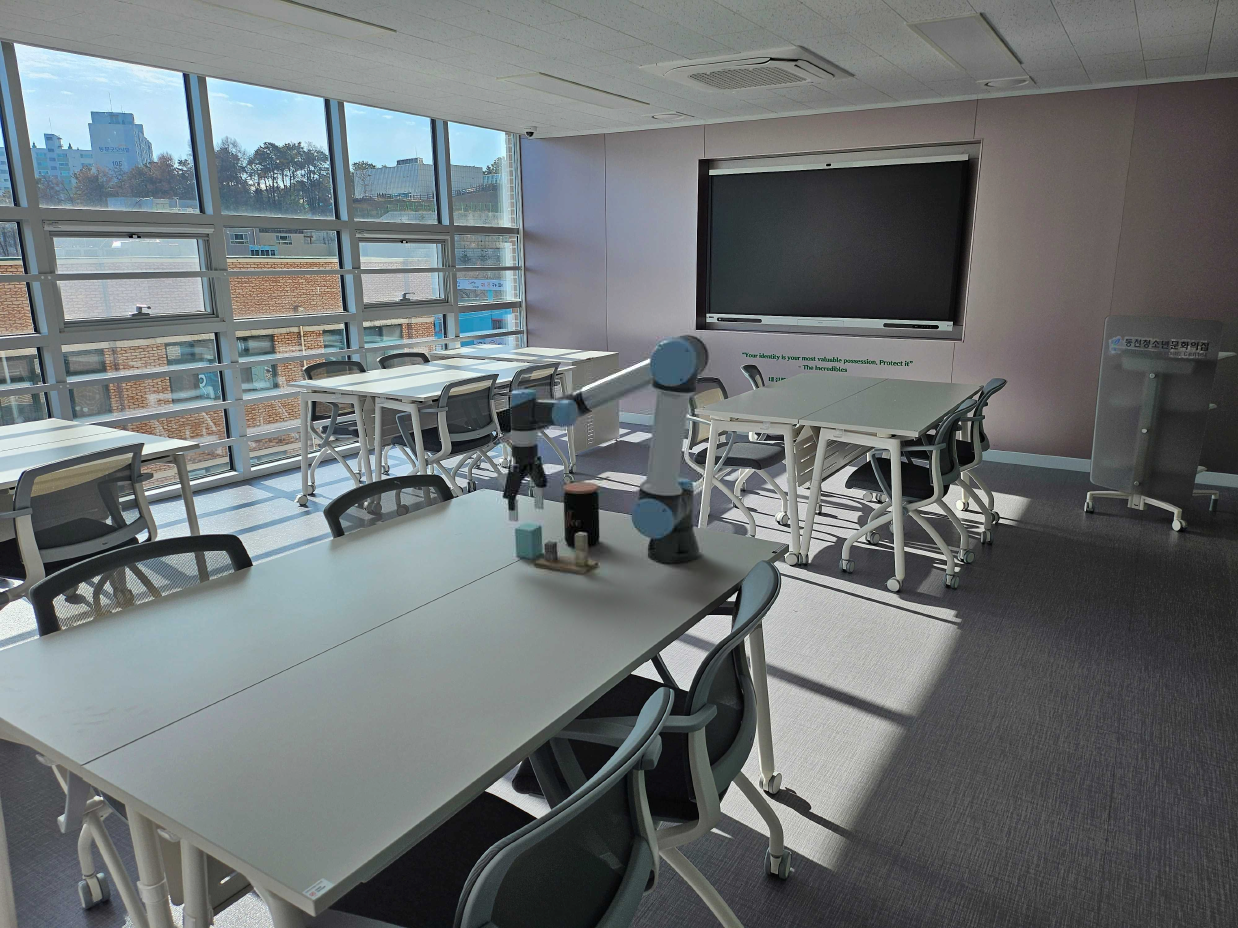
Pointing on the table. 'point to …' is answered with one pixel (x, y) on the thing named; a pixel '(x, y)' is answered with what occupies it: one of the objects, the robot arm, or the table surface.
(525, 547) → the teal rectangular block
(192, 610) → the table surface
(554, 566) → the stand
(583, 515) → the coffee jar
